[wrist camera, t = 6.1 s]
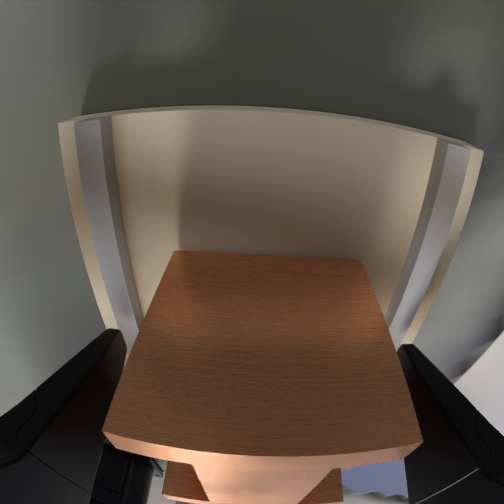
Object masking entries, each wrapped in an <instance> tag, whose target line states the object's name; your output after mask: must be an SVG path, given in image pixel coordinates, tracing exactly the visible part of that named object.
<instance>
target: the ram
mask: <svg viewBox="0 0 504 504" xmlns="http://www.w3.org/2000/svg"><path fill="white" fill-rule="evenodd" d="M102 432H103V434H104V435H105V436H106V437H107V438H108V439H109V441H110V442H111V443H112V444H113V445H114V446H115V447H116V449H119V450H123V451H127V452H131V453H135V454H139V455H144V456H148V457H153V458H158V459H163V460H168V463H167V469H166V474H165V479H164V484H163V490H162V495H163V496H164V497H166V498H167V499H170V500H176V501H182V502H188V503H194V504H340V503H342V502H343V492H342V480H341V469H340V468H345V467H354V466H362V465H370V464H377V463H383V462H388V461H394V460H400V459H404V458H405V457H406V456H407V455H409V454H410V453H411V452H412V451H413V450H415V449H416V448H417V447H418V446H419V445H420V444H422V443H423V439H422V435H421V431H420V427H419V424H418V420H417V416H416V413H415V409H414V406H413V402H412V399H411V395H410V392H409V389H408V385H407V382H406V379H405V376H404V373H403V370H402V367H401V364H400V361H399V358H398V355H397V352H396V349H395V346H394V343H393V340H392V338H391V335H390V332H389V329H388V326H387V324H386V321H385V318H384V316H383V313H382V311H381V308H380V305H379V303H378V300H377V298H376V295H375V293H374V290H373V288H372V285H371V283H370V280H369V278H368V276H367V273H366V271H365V268H364V266H363V264H362V261H353V260H336V259H318V258H300V257H282V256H265V255H247V254H230V253H213V252H196V251H179V250H174V252H173V254H172V256H171V259H170V261H169V263H168V265H167V267H166V269H165V272H164V274H163V276H162V278H161V281H160V283H159V285H158V287H157V290H156V292H155V294H154V296H153V299H152V301H151V303H150V306H149V308H148V310H147V313H146V315H145V317H144V320H143V322H142V324H141V327H140V329H139V332H138V334H137V337H136V339H135V342H134V344H133V347H132V349H131V352H130V354H129V357H128V359H127V362H126V364H125V367H124V370H123V372H122V375H121V378H120V380H119V383H118V386H117V388H116V391H115V394H114V397H113V399H112V402H111V405H110V408H109V411H108V414H107V417H106V419H105V422H104V425H103V428H102Z"/></svg>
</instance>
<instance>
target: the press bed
mask: <svg viewBox="0 0 504 504" xmlns="http://www.w3.org/2000/svg"><path fill="white" fill-rule="evenodd" d="M58 129H59V138H60V146H61V154H62V161H63V168H64V174H65V180H66V185H67V191H68V196H69V201H70V206H71V211H72V215H73V220H74V224H75V228H76V232H77V236H78V240H79V244H80V248H81V252H82V255H83V259H84V263H85V266H86V269H87V273H88V276H89V279H90V283H91V286H92V289H93V292H94V295H95V298H96V301H97V304H98V307H99V310H100V313H101V315H102V318H103V321H104V324H105V326H106V329H108V328H114V329H119V330H121V332H122V334H123V337H124V340H125V342H126V345H127V354H126V359H125V364H126V362H127V359H128V357H129V354H130V352H131V349H132V347H133V344H134V342H135V339H136V337H137V334H138V332H139V329H140V327H141V324H142V322H143V320H144V317H145V315H146V313H147V310H148V308H149V306H150V303H151V301H152V299H153V296H154V294H155V292H156V290H157V287H158V285H159V283H160V281H161V278H162V276H163V274H164V272H165V269H166V267H167V265H168V263H169V261H170V259H171V256H172V254H173V252H174V250H179V251H196V252H213V253H230V254H247V255H265V256H282V257H300V258H318V259H336V260H353V261H362V264H363V266H364V268H365V271H366V273H367V276H368V278H369V280H370V283H371V285H372V288H373V290H374V293H375V295H376V298H377V300H378V303H379V305H380V308H381V311H382V313H383V316H384V318H385V321H386V324H387V326H388V329H389V332H390V335H391V338H392V340H393V343H394V346H395V349H396V352H397V350H398V348H399V346H400V345H401V344H412V342H413V340H414V339H415V337H416V335H417V333H418V331H419V329H420V327H421V325H422V323H423V321H424V319H425V317H426V315H427V313H428V311H429V309H430V307H431V305H432V303H433V301H434V299H435V297H436V294H437V292H438V290H439V288H440V285H441V283H442V281H443V279H444V276H445V274H446V271H447V269H448V267H449V264H450V262H451V259H452V256H453V254H454V251H455V249H456V246H457V243H458V241H459V238H460V235H461V232H462V229H463V226H464V223H465V220H466V217H467V214H468V211H469V208H470V204H471V201H472V198H473V194H474V190H475V187H476V183H477V179H478V175H479V171H480V167H481V163H482V159H483V154H484V151H483V150H481V149H479V148H477V147H475V146H473V145H471V144H469V143H467V142H464V141H462V140H459V139H455V138H452V137H448V136H444V135H441V134H437V133H433V132H429V131H425V130H421V129H417V128H413V127H408V126H404V125H399V124H394V123H389V122H384V121H379V120H373V119H368V118H362V117H356V116H349V115H342V114H335V113H327V112H319V111H310V110H300V109H289V108H275V107H258V106H223V105H205V106H171V107H154V108H140V109H129V110H119V111H111V112H103V113H95V114H88V115H82V116H78V117H75V118H72V119H69V120H66V121H63V122H60V123H58ZM125 364H124V367H125ZM123 370H124V368H123Z"/></svg>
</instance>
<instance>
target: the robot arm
mask: <svg viewBox="0 0 504 504" xmlns="http://www.w3.org/2000/svg"><path fill="white" fill-rule="evenodd" d="M126 354H127V345H126V342H125V340H124V337H123V334H122V332H121V330H119V329H114V328H108V329H107V330H105V331H104V332H103V333H102V334H100V335H99V336H98V337H97V338H96V339H94V340H93V341H92V342H91V343H90V344H88V345H87V346H86V347H85V348H84V349H82V350H81V351H80V352H79V353H78V354H76V355H75V356H74V357H73V358H72V359H70V360H69V361H68V362H67V363H66V364H64V365H63V366H62V367H61V368H60V369H59V370H57V371H56V372H55V373H54V374H53V375H51V376H50V377H49V378H48V379H47V380H46V381H44V382H43V383H42V384H41V385H40V386H39V387H37V388H36V390H34V391H33V392H32V393H30V394H29V395H28V396H27V397H26V398H25V399H23V400H22V401H21V402H20V403H18V404H17V405H16V406H15V407H13V408H12V409H11V410H9V411H8V412H6V413H5V414H4V415H2V416H1V417H0V504H147V502H148V497H149V492H150V487H151V482H152V477H153V476H157V477H163V473H162V472H161V470H160V469H159V468H158V467H157V465H156V464H155V463H154V461H153V460H152V459H151V458H150V457H148V456H144V455H139V454H135V453H131V452H127V451H123V450H119V449H116V448H112V447H109V446H105V445H103V444H104V441H105V437H106V436H105V435H104V434H103V432H102V428H103V425H104V422H105V419H106V417H107V414H108V411H109V408H110V405H111V402H112V399H113V397H114V394H115V391H116V388H117V386H118V383H119V380H120V378H121V375H122V372H123V368H124V364H125V359H126ZM397 355H398V358H399V361H400V364H401V367H402V370H403V373H404V376H405V379H406V382H407V385H408V389H409V392H410V395H411V399H412V402H413V406H414V409H415V413H416V416H417V420H418V424H419V427H420V431H421V435H422V439H423V443H422V444H420V445H419V446H418V447H417V448H416V449H415V450H413V451H412V452H411V453H410V454H409V455H407V456H406V457H405V458H404V462H405V471H406V479H407V488H408V499H409V504H504V436H503V435H502V434H501V433H500V432H499V431H498V430H496V429H495V428H494V427H493V426H492V425H491V424H490V423H489V422H488V421H487V419H486V418H485V417H484V416H483V415H482V414H481V413H480V412H479V411H477V409H476V408H475V407H474V406H473V405H472V404H471V403H470V402H469V400H468V399H467V398H466V397H465V396H464V395H463V394H462V393H461V392H460V391H459V390H458V389H457V388H456V387H455V386H454V385H453V384H452V383H451V382H450V381H449V380H448V379H447V378H446V377H445V375H444V374H443V373H442V372H441V371H440V370H439V369H438V368H437V367H436V366H435V365H434V364H433V363H432V362H431V361H430V360H429V359H428V358H427V357H426V356H425V355H424V354H423V353H422V352H421V351H420V350H419V349H418V348H417V347H416V346H415V345H413V344H401V345H400V346H399V348H398V350H397Z"/></svg>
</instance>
